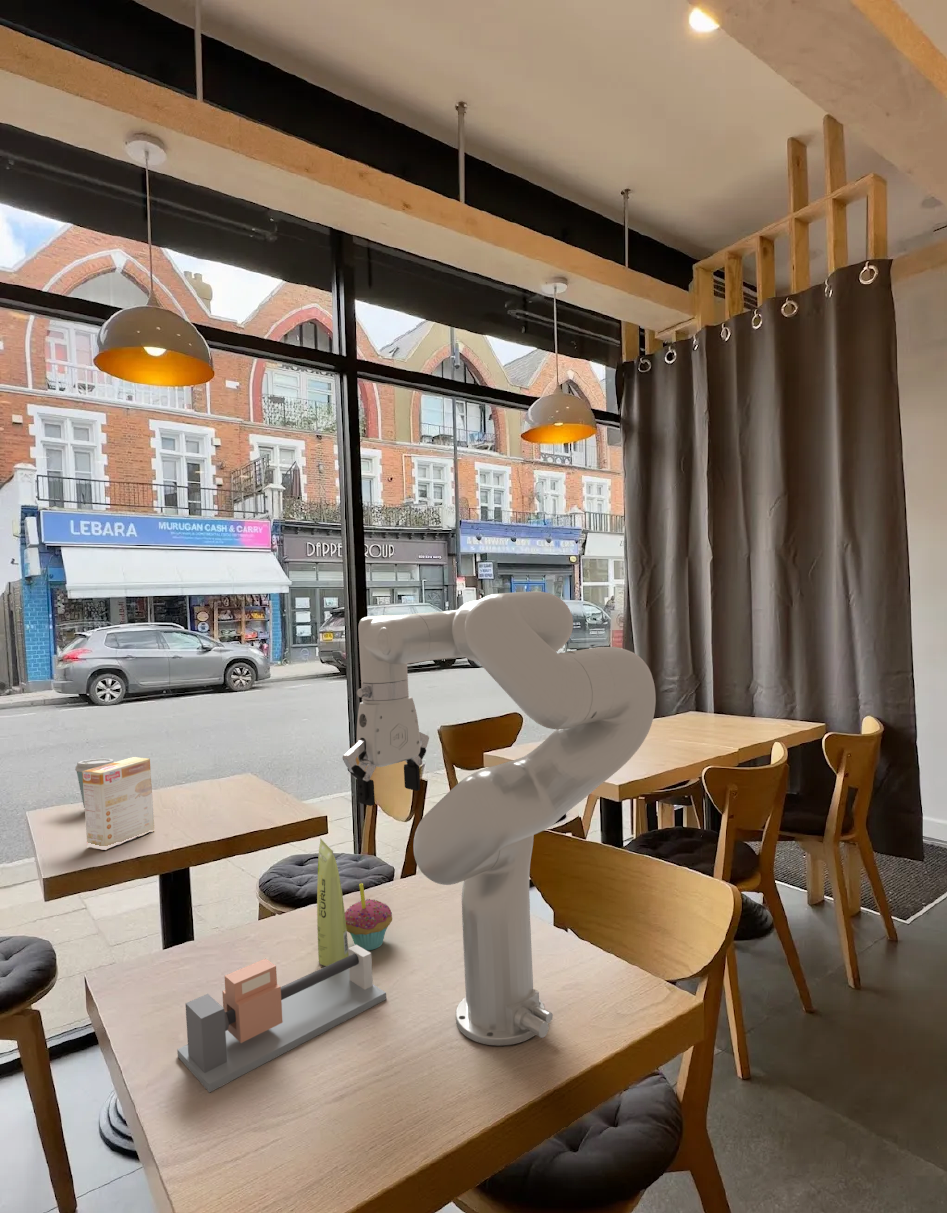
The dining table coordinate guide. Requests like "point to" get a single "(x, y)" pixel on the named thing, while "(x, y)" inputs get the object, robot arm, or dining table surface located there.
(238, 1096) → the dining table surface
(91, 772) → the coffeecake box
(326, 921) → the tube
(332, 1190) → the dining table surface
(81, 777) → the disposable coffee cup
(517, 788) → the robot arm
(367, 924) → the cupcake
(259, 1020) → the sleeve
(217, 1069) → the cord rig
